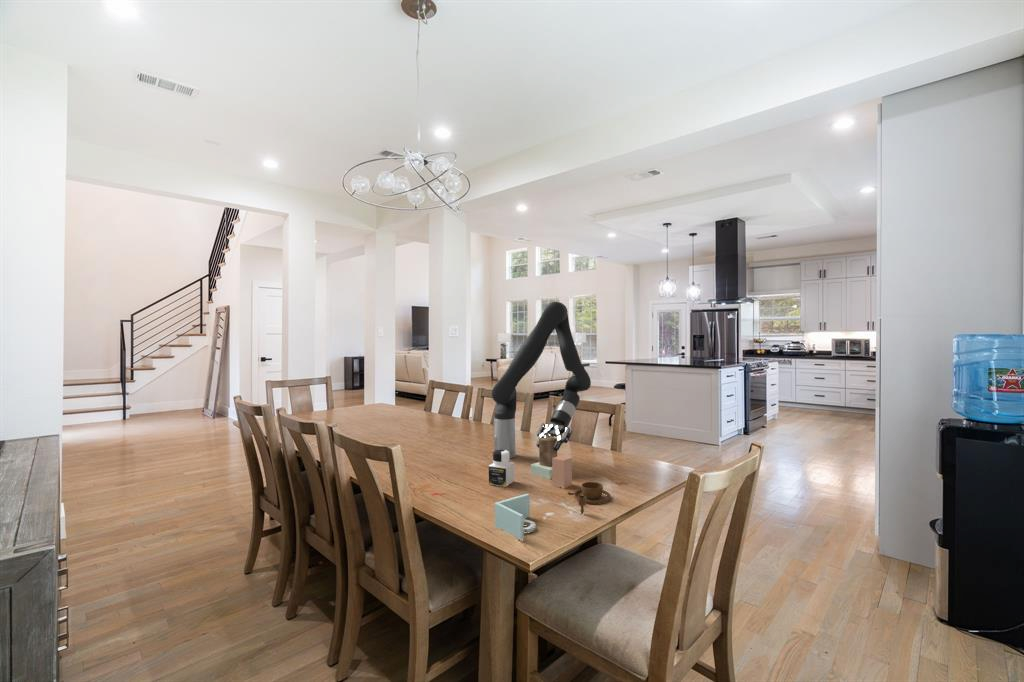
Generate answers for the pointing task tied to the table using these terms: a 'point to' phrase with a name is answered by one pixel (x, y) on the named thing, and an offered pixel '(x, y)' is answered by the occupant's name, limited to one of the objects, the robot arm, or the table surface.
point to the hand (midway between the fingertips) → (546, 448)
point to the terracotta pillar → (562, 471)
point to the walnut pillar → (547, 451)
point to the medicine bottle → (501, 469)
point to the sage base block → (541, 470)
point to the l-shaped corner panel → (514, 515)
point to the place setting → (590, 494)
